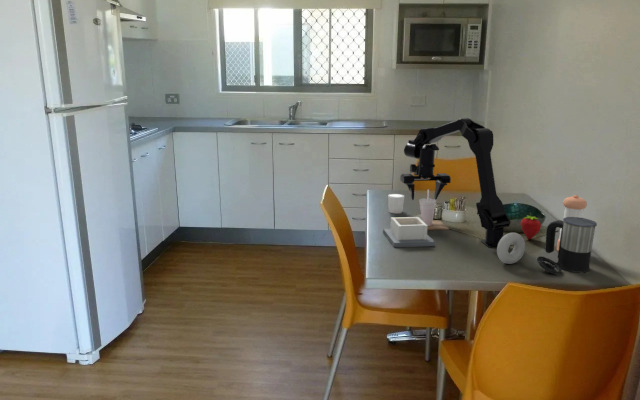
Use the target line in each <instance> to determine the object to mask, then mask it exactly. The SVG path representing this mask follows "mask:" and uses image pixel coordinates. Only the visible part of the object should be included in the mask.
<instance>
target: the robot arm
mask: <svg viewBox="0 0 640 400" xmlns="http://www.w3.org/2000/svg"><path fill="white" fill-rule="evenodd" d="M455 133H460V134H461V136H462V138H465V140H467V143H468V146H469V149H470V150H471V151H472V153H473V154H474V157H475V161H476V162H475V163H476V168H477V177H478V182H479V189H480V195H481V198H480V200H479V201H478V202H476V203H475V205H476V209H477V210H476V215H478V218H479V220H480V226H481V228H484V229H485V236H484V237H485V238H484V239H481V240H480V242H482V244H484V245H485V246H487V247H488V248H497V246H498V243H499V241H500V240H501V238H502V237H503V236H504V230H505V228H508V227H510V225H511V222H512V221H511V220H510V217H509V215H507V213H506V211H505V208H504V203H503V202H502V200H501V199H500V197H499V196H498V195H497V189H496V182H495V176H494V169H493V162H492V156H491V152H492V150H493V147H494V133H493V131H492V130H491V129H490V128H488V127H487V128H486V127H485V126H483V125H481V124H479V123H478V122H475V121H474V120H473V119H470V118H468V117H467V118H463V117H462V118H458V119H457V120H453V121H451V122H448V123H445V124H442V125H440V126H436V127H427V128H425V127H424V128H420V129H419V130H418V133H417V134H416V137H414V139H408V142H407V144H406V145H405V146H404V148H403V152H404V153H403V154H404V155H405V156H406V157H408V158H413V159H418V162H417V165H416V164H415V163H414V164H413V163H412V164H409V173H402V174H401V175H400V179H399V181H400V182H402V183H403V184H405V186H407V188H408V191H409V195H410V198H411V201H414V199H415V187H416V186H415V183H414V182H415V181H416V182H424V181H425V182H428V181H429V182H431V181H433V182H434V181H435V188H434V198H433V199H435V200H436V201H437V199H438V197H439V196H440V194H441V192H442V190H443V189H444V187H445V186H448V184H450V183H452V182H451V181H452V179H451V176H450V175H449V174H447V173H442V172H441V173H438V172H437V173H436V175H434V168H435V166H436V165H435V155H436V154H435V152H437V151H439V150H440V148H439V146H437V144H436V143H437V142H439V141H441V140H442V138H445V137H447V136H450V135H453V134H455ZM412 173H414V175H413V174H412Z"/></svg>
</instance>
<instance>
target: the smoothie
mask: <svg viewBox="0 0 640 400" xmlns="http://www.w3.org/2000/svg"><path fill="white" fill-rule="evenodd" d="M426 196H427V197H423V198H419V200H418V203H419V208H420V217H421V218H420V219H421V220H422V221H423V222H424V223H425V224H426V225H427V226H431V225H432V222H433V220H434V213H435V209H436V204H437V199H436V200H435V199H434V198H431V197H430V189H427V195H426Z"/></svg>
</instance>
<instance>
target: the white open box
mask: <svg viewBox="0 0 640 400" xmlns="http://www.w3.org/2000/svg"><path fill="white" fill-rule="evenodd" d="M389 226H390V227H389V228H383V229H382V233H383V235H384V236H385V237H386V239H387V240H388V241H389V243H390V244H391V245H392V247H394V248H409V247H410V248H411V247H414V248H415V247H435V243H436V242H435V240H434V239H433V238H432V237H430V235H428V230H427V225H426V224H425V223H424V222H423V221H422V218H420V217H419V216H414V217H413V216H408V217H407V216H406V217H405V216H404V217H402V216H401V217H390V225H389Z"/></svg>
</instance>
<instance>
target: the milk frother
mask: <svg viewBox="0 0 640 400" xmlns="http://www.w3.org/2000/svg"><path fill="white" fill-rule="evenodd" d="M597 225H598V222H596V221H595V220H592V219H588V218H586V217H585V218H584V217H582V218H579V217H566V218H564V217H563V218H562V219H561V220H560V219H559V220H554V221H551V222H550V223H549V224H548V225H547V228H546V233H545V248H544V250H545V252H546V253H547V254H551V253H553V252H554V251H555V244H556V243H555V241H556V230H557V228H560V229H561V228H562V231H561V238H560V245H559V251H557V259H558V260H557V262H555V261H554V260H552V259H550V258H547V257H545V256H541V255H540V256H538V257H537V259H536V261H537V263H538V265H539V266H540V267H541V268H542V269H544V270H545V271H547V272H548V273H549V274H556V275H558V274H561V273H562V272H563V271H562V269H563V270H564V271H569V272H574V273H586V272H589V271H590V270H591V268H590V267H591V266H590V263H591V255H592V250H593V249H592V248H593V243H594V237H595V232H596V231H595V230H596V227H597Z"/></svg>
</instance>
